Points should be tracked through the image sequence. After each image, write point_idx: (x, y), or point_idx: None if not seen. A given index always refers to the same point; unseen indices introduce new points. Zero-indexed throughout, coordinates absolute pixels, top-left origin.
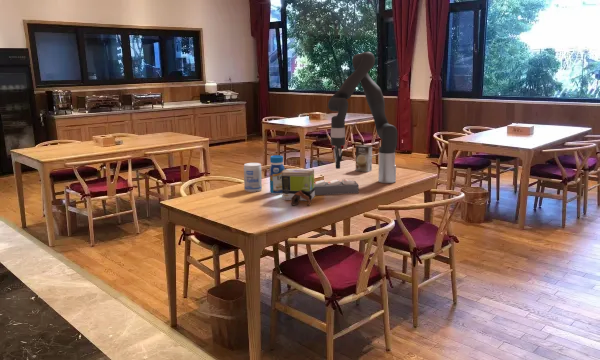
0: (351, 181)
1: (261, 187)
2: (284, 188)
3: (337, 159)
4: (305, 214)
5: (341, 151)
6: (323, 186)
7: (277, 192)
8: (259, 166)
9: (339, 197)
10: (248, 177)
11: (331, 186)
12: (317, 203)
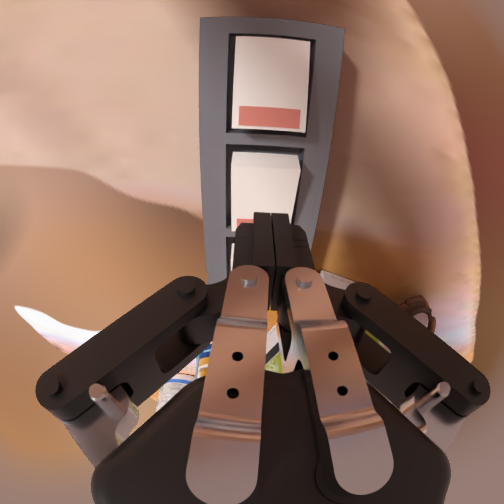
0: (287, 62)
1: (186, 380)
2: None
3: (377, 346)
4: (470, 306)
5: (377, 435)
6: None
7: None
8: None
9: (383, 169)
10: None
11: (317, 215)
12: (415, 272)
